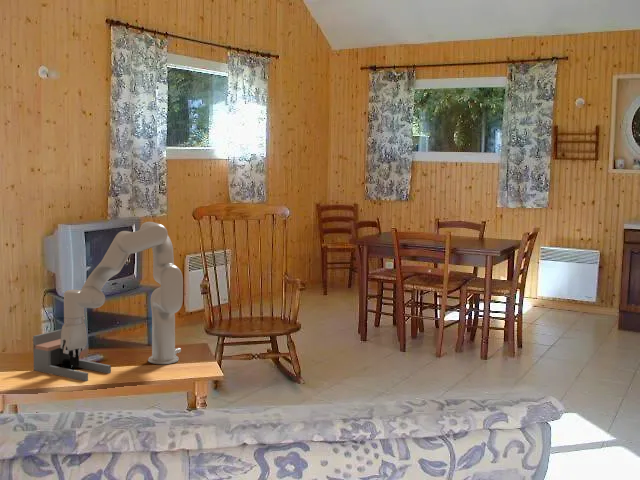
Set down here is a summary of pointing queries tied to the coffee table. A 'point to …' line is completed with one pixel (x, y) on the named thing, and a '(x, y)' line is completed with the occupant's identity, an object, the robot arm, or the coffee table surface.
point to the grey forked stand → (59, 358)
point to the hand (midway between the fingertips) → (74, 365)
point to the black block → (67, 364)
